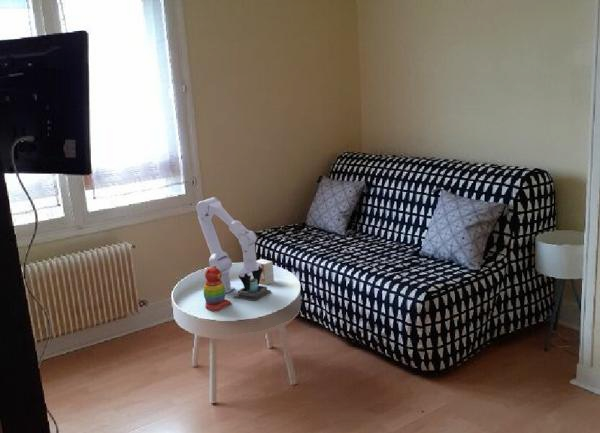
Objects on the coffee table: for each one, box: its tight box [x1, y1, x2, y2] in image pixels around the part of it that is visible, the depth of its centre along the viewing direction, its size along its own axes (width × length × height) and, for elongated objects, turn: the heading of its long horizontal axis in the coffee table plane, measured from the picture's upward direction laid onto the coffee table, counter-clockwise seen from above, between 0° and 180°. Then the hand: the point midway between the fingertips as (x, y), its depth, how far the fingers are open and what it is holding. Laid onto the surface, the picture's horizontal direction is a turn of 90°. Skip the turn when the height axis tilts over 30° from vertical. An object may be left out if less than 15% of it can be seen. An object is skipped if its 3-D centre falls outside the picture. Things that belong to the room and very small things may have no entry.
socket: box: [234, 284, 272, 302], centre depth 276 cm, size 12×12×3 cm
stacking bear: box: [203, 266, 232, 312], centre depth 264 cm, size 11×10×18 cm
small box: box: [256, 258, 275, 286], centre depth 292 cm, size 8×6×10 cm
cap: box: [247, 277, 258, 293], centre depth 276 cm, size 5×5×6 cm
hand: (252, 286), depth 276 cm, fingers open, 7 cm apart
